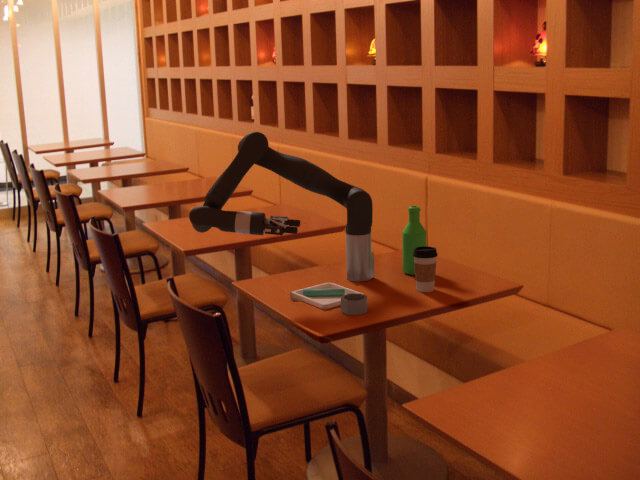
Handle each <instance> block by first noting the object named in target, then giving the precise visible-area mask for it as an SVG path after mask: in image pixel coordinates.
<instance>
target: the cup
mask: <svg viewBox="0 0 640 480" xmlns="http://www.w3.org/2000/svg"><path fill="white" fill-rule="evenodd" d="M361 293H362V292H360V293H350V294H346V295H342V297H341V305H340V309H341V310H340V311H341V312H340V313H342V314H344V315H347V316H361V315H365V314H366V313H367V312H368V309H369V307H368V295H366V294H365V293H363V294H361ZM364 294H365V295H364Z"/></svg>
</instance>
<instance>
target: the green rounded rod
mask: <svg viewBox="0 0 640 480" xmlns="http://www.w3.org/2000/svg"><path fill="white" fill-rule="evenodd" d="M302 289H303V296H342V295H345V289H304V288H302Z"/></svg>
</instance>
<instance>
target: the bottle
mask: <svg viewBox="0 0 640 480" xmlns="http://www.w3.org/2000/svg"><path fill="white" fill-rule="evenodd" d="M421 211H422V209H421V207H420V206H418V205H410V206H409V207H408V209H407V212H408V222H407V224H406V226H405V227H404V228H403V230H402V232H401V233H402V234H401V236H402V237H401V238H402V243H401V244H402V245H401V246H402V271H403V273H405V274H406V275H410V276H415V267H414V256H413V252H414V248H416V247H421V246H427V230H426V229H425V226H423V224H422V222H421V220H420V217H421V215H420V212H421Z"/></svg>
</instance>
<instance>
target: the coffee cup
mask: <svg viewBox="0 0 640 480" xmlns="http://www.w3.org/2000/svg"><path fill="white" fill-rule="evenodd" d="M413 256H414V267H415V275H414V278H415V283H416V284H415V286H416V291H418V292H419V293H430V292H434V290H435V280H436V270H437V262H438V261H437V257H438V251H437V247H433V246H428V245H426V246H421V247H416V248H414V252H413Z"/></svg>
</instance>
